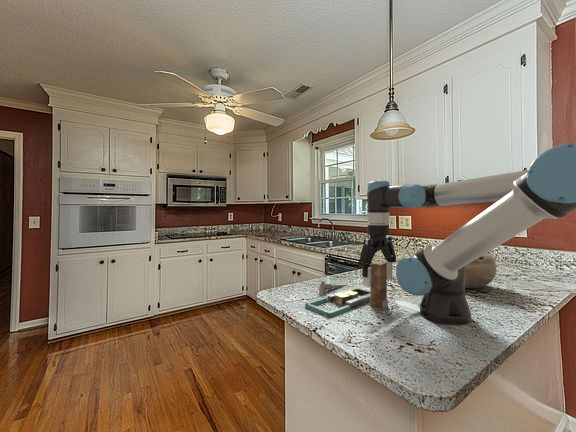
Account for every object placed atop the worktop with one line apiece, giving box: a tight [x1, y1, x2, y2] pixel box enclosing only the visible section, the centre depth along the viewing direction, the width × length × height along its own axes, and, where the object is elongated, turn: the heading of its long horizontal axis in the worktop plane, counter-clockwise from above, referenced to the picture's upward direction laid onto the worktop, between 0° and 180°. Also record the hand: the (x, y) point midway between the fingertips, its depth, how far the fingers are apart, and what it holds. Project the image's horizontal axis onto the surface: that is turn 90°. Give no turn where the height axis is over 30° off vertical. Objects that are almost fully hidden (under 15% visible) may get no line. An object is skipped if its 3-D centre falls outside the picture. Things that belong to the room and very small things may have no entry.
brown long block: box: [369, 261, 389, 310], centre depth 98 cm, size 6×4×17 cm, turn 38°
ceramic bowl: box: [465, 253, 498, 289], centre depth 125 cm, size 22×22×15 cm
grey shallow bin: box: [326, 286, 371, 310], centre depth 106 cm, size 12×17×3 cm
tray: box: [305, 296, 351, 318], centre depth 97 cm, size 12×10×2 cm
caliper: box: [318, 280, 348, 295], centre depth 120 cm, size 20×1×6 cm, turn 131°
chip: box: [344, 291, 358, 300], centre depth 104 cm, size 4×4×3 cm
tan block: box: [334, 293, 350, 306], centre depth 102 cm, size 4×4×3 cm
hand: (378, 282), depth 98 cm, fingers open, 13 cm apart
